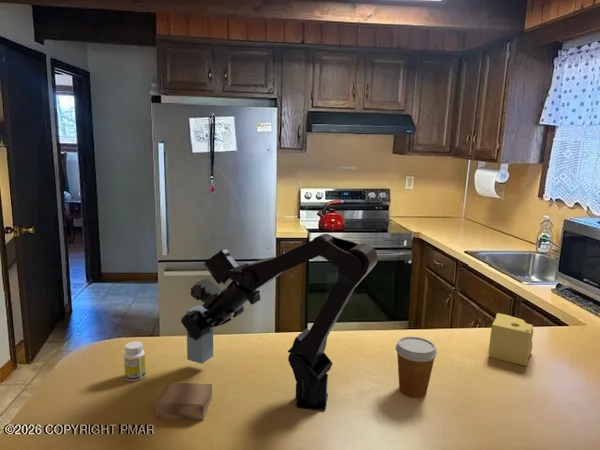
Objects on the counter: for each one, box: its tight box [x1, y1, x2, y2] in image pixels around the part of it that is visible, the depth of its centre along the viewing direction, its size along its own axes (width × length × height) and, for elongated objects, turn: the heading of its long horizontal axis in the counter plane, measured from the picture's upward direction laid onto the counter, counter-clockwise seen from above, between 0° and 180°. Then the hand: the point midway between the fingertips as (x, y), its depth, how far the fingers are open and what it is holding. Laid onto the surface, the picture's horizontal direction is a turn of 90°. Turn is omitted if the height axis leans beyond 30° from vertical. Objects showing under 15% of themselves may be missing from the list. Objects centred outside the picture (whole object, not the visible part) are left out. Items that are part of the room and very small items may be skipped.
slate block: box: [185, 304, 214, 365], centre depth 113 cm, size 5×5×13 cm
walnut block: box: [154, 381, 213, 421], centre depth 97 cm, size 10×8×4 cm
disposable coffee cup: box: [395, 336, 438, 399], centre depth 106 cm, size 10×10×12 cm
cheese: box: [488, 312, 534, 367], centre depth 126 cm, size 10×11×10 cm
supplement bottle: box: [123, 340, 147, 382], centre depth 109 cm, size 5×5×8 cm
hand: (195, 332), depth 113 cm, fingers closed on slate block, 5 cm apart
